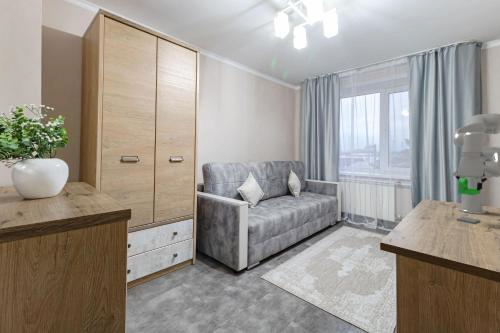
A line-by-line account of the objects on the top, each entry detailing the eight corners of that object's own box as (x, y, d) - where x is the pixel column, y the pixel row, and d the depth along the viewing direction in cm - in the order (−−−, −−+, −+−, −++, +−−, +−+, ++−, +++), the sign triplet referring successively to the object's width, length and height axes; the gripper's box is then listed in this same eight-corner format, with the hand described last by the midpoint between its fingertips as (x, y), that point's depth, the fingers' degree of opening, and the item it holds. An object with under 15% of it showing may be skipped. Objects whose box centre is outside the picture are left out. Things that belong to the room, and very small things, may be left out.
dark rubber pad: (463, 218, 128) (463, 216, 128) (480, 221, 122) (480, 220, 122) (456, 220, 124) (456, 218, 124) (474, 223, 118) (474, 222, 118)
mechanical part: (473, 195, 117) (474, 179, 116) (458, 193, 122) (458, 178, 122) (482, 192, 123) (483, 178, 122) (467, 191, 128) (468, 177, 127)
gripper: (498, 155, 115) (495, 191, 117) (454, 155, 130) (453, 186, 132) (492, 156, 112) (490, 192, 113) (448, 155, 127) (447, 187, 128)
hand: (470, 188), depth 122 cm, fingers closed on mechanical part, 6 cm apart
